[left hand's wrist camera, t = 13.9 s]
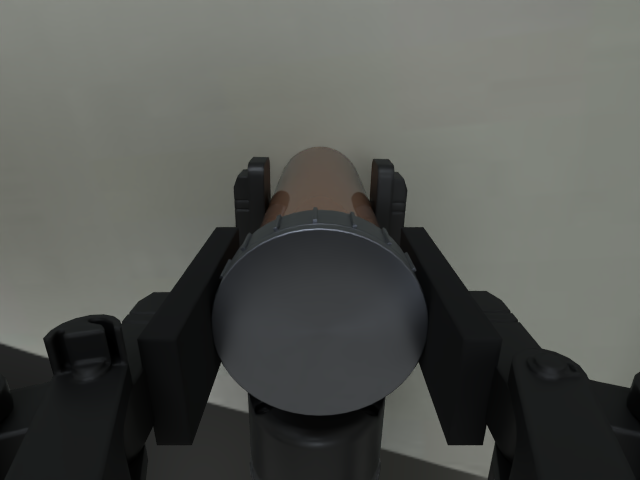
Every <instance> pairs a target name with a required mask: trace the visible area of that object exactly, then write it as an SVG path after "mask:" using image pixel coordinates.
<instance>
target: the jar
mask: <svg viewBox="0 0 640 480" xmlns="http://www.w3.org/2000/svg"><path fill="white" fill-rule="evenodd" d="M313 207H317V210H333V211H339V212H344V213H348V214H350V212H354V213H355V216H357V217H360V218H362V219H364V220H366V221H369V222H371V223H373V224H374V225H376V226H377V227H379V228H380V226H379V223H378V221H377V219H376V216H375V214H374V211H373V209H372V206H371V204H370V202H369V199H368V197H367V194H366V192H365V190H364V187H363V185H362V182H361V180H360V178H359V175H358V173H357V171H356V168H355V167H354V165H353V163H352V162H351V161H350V160H349V159H348V158H347V157H346V156H345V155H343V154H342V153H341V152H339V151H337V150H334V149H331V148H327V147H313V148H309V149H306V150H303V151H301V152H299V153H298V154H296V155H295V156H294V157H293V158H292V159H291V160H290V161H289V162H288V163H287V165H286V166H285V168H284V170H283V172H282V175H281V177H280V179H279V182H278V184H277V187H276V189H275V191H274V194H273V196H272V199H271V201H270V204H269V206H268V208H267V211H266V213H265V216H264V218H263V220H262V223H261V225H260V228H261V227H263V226H264V225H266V224H267V223H269V222H271V221H273V220H275V219H276V217H277V215H280V214H281V216H285V215H288V214H292V213H296V212H301V211H307V210H313ZM260 228H259V229H260ZM380 229H381V228H380Z"/></svg>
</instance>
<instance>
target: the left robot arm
mask: <svg viewBox="0 0 640 480" xmlns="http://www.w3.org/2000/svg"><path fill="white" fill-rule="evenodd" d="M239 248H240V241H239V228H238V227H216V229H215V230H214V231H213V233H212V234H211V236H210V237H209V238H208V240H207V241H206V243H205V244H204V246H203V247H202V248H201V250H200V251H199V253H198V254H197V255H196V257H195V258H194V260H193V261H192V262H191V264H190V265H189V267H188V268H187V269H186V271H185V272H184V274H183V275H182V276H181V278H180V279H179V281H178V282H177V284H176V285H175V286H174V288H173V289H172V291H171V292H153V293H152V294H150V295H148V296H147V297H145V298H144V299H142V300H140V301H139V302H138V303H137V304H136V305H135V307H134V308H133V309H132V310H131V311H130V314H129V315H127V316H126V317H125V319H124V320H123V321H122V324H121V323H120V320H118V319H117V318H116V317H114V316H109V315H104V314H102V315H88V316H84V317H79V318H75V319H73V320H70V321H67V322H65V323H62V324H61V325H59V326H57V327H56V328H54V329H52V330H51V331H50V332H49V333H48V334H47V335H46V336H45V337H44V338H43V340H44V343H45V347H46V350H47V354H48V357H49V361H50V364H51V368H52V371H53V377H52V379H51V381H50V382H46V383H42V384H37V385H32V386H27V387H22V388H17V389H13V390H10V389H9V386H8V383H7V381H6V378H5V377H4V376H3V375H1V374H0V480H146V473H147V464H148V457H147V451H146V446H145V442H146V440H147V437H148V435H149V433H150V431H151V429H152V427H154V432H155V437H156V442H157V445H192V443H193V440H194V437H195V435H196V432H197V429H198V426H199V423H200V420H201V418H202V415H203V412H204V409H205V406H206V403H207V401H208V398H209V395H210V392H211V389H212V386H213V383H214V381H215V378H216V375H217V372H218V369H219V366H220V364H221V360H220V358H219V356H218V354H217V351H216V348H215V345H214V342H213V335H212V326H211V312H212V305H213V301H214V298H215V294H216V292H217V289H218V287H219V285H220V283H221V281H222V279H219V278H220V275H221V273H222V272H223V270H224V268H225V266H226V264H227V262H228V260H229V259H230V260H232V259H233V257H234V255H235V254H236V252H237V251H238V249H239ZM400 248H401V250H402V251H403V253H406V252H407V253H408V255H409V257H410V259H411V261H412V263H413V265H414V266H415V268H416V270H417V271H415V272H414V273H415V275H416V277H417V279H418V281H419V283H420V286H421V288H422V290H423V292H424V295H425V299H426V302H427V306H428V315H429V324H428V333H427V341H426V345H425V347H424V350H423V353H422V356H421V357H420V359H419V364H420V367H421V370H422V373H423V376H424V379H425V381H426V384H427V387H428V390H429V393H430V396H431V398H432V401H433V404H434V407H435V410H436V413H437V415H438V418H439V421H440V424H441V427H442V430H443V432H444V435H445V438H446V441H447V444H448V445H483V441H484V436H485V430H486V425H487V426H488V428H489V430H490V432H491V434H492V436H493V438H494V440H495V446H494V451H493V456H492V461H491V466H490V471H489V476H488V480H640V372H639V373H637V374H636V375H635V376H634V379H633V382H632V385H631V388H627V387H622V386H617V385H612V384H607V383H602V382H597V381H593V380H589V379H588V377H587V374H586V373H585V372H584V371H583V369H582V368H581V367H580V366H579V365H578V364H576V363H575V362H574V361H572V360H571V359H569V358H568V357H565V356H563V355H561V354H559V353H556V352H553V351H549V350H545V349H542V348H541V347H540V346H539V345H538V344H537V342H536V341H535V340H534V339H533V338H532V336H531V335H530V334H529V333H528V332H527V330H526V329H525V328H524V327H523V326H522V324H521V323H520V322H518V320H517V318H516V317H515V316H514V315H513V314H512V313H510V310H509V309H508V308H507V306H506V305H505V304H504V303H503V302H502V300H500V299H499V298H497V297H495V296H494V295H492V294H490V293H489V292H487V291H468V290H467V288H466V287H465V285H464V284H463V283H462V281H461V280H460V278H459V277H458V275H457V274H456V273H455V271H454V270H453V268H452V267H451V266H450V264H449V263H448V261H447V260H446V259H445V257H444V256H443V254H442V253H441V252H440V250H439V249H438V247H437V246H436V244H435V243H434V242H433V240H432V239H431V237H430V236H429V235H428V233H427V232H426V230H425V229H424V228H423V227H401V237H400Z"/></svg>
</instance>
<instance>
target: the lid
mask: <svg viewBox="0 0 640 480" xmlns="http://www.w3.org/2000/svg"><path fill="white" fill-rule="evenodd" d="M415 271H417V270H416V268H415V266H414V265H413V263H412V261H411V259H410V257H409V255H408V253H407V252H406V253H403V251H402V250H401V248H400V247H399V246H398V244H397V243H396V242H395V241H394V240H393V239H392V238H391V237H390V236H389V235H388V232H387V230H386V229H385V228H384V227H383V228H382V229H380V228H379V227H377V226H376V225H374V224H373V223H371V222H369V221H366V220H364V219H362V218H360V217H357V216H355V213H354V212H350V214H348V213H344V212H339V211H333V210H317V207H313V210H307V211H301V212H296V213H292V214H288V215H285V216H281V214H280V215H277V217H276V219H275V220H273V221H271V222H269V223H267V224H266V225H264V226H263V227H261V228H260V229H258V230H257V231H255V232H254V233H253V234H251V233H249V234H248V235H247V236H246V238H245V240H244V243H243V244H242V245H241V246H240V248H239V249H238V251H237V252H236V254H235V255H234V257H233V259H232V260H230V259H229V260H228V262H227V264H226V266H225V268H224V270H223V272H222V273H221V275H220V278H219V279H222V281H221V283H220V285H219V287H218V289H217V292H216V294H215V298H214V301H213V305H212V312H211V326H212V335H213V342H214V345H215V348H216V351H217V354H218V356H219V358H220V360H221V362H222V364H223V366H224V367H225V368H226V370H227V371H228V373H229V374H230V376H231V377H232V378H233V379H234V380H235V381H236V382H237V383H238V384H239V385H240V386H241V387H242V388H243V389H245V390H246V391H247V392H248V393H250V394H251V395H253V396H254V397H256V398H257V399H259V400H261V401H263V402H265V403H267V404H269V405H271V406H273V407H276V408H279V409H281V410H285V411H289V412H293V413H298V414H304V415H319V416H321V415H335V414H342V413H347V412H351V411H355V410H358V409H361V408H364V407H366V406H369V405H371V404H373V403H375V402H377V401H379V400H381V399H382V398H384V397H385V396H387V395H388V394H390V393H391V392H393V391H394V390H395V389H396V388H397V387H399V386H400V385H401V384H402V383H403V382H404V381H405V380H406V378H407V377H408V376H409V375H410V374H411V372H412V371H413V369H414V368H415V367H416V365H417V363H418V361H419V359H420V357H421V356H422V353H423V350H424V347H425V345H426V341H427V333H428V324H429V315H428V306H427V302H426V299H425V295H424V292H423V290H422V288H421V286H420V283H419V281H418V279H417V277H416V275H415V273H414V272H415Z"/></svg>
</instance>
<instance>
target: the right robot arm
mask: <svg viewBox="0 0 640 480" xmlns="http://www.w3.org/2000/svg"><path fill="white" fill-rule="evenodd" d="M406 198H407V188H406V184H405V181H404V179H403V177H402V176H401V175H400V174H399V173H398V172H394V165H393V164H392V163H391V161H390V160H389V159H373V162H372V172H371V187H370V204H371V206H372V209H373V211H374V214H375V216H376V219H377V221H378V223H379V226H380V228H381V229H382V228H383V227H384V228H385V229H386V230H387V232H388V235H389V236H390V237H391V238H392V239H393V240H394V241H395V242H396V243H397V244H398V246H399V247H400V237H401V227H404V218H405V208H406ZM234 199H235V218H236V227H238V228H239V241H240V246H241V245H242V244H243V243H244V240H245V238H246V236H247V235H248V234H249V233H251V234H253V233H254V232H255V231H257V230H258V229H259V228H260V225H261V223H262V220H263V218H264V216H265V213H266V211H267V208H268V206H269V204H270V201H271V194H270V161H269V157H253V158H252V159H251V160H250V161H249V163H248V170H243V171H242V172H241V173H240V174H239V175H238V177H237V180H236V182H235V185H234ZM418 362H419V361H418ZM385 397H386V396H385ZM385 397H384V398H382V399H381V400H379V401H377V402H375V403H373V404H371V405H369V406H366V407H364V408H361V409H358V410H355V411H351V412H347V413H342V414H335V415H321V416H319V415H304V414H298V413H293V412H289V411H285V410H281V409H279V408H276V407H273V406H271V405H269V404H267V403H265V402H263V401H261V400H259V399H257V398H256V397H254V396H253V395H251V394H250V393H248V404H249V423H250V442H251V460H250V474H251V478H252V480H379V475H380V466H381V462H380V459H379V458H380V448H381V437H382V427H383V417H384V407H385Z"/></svg>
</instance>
